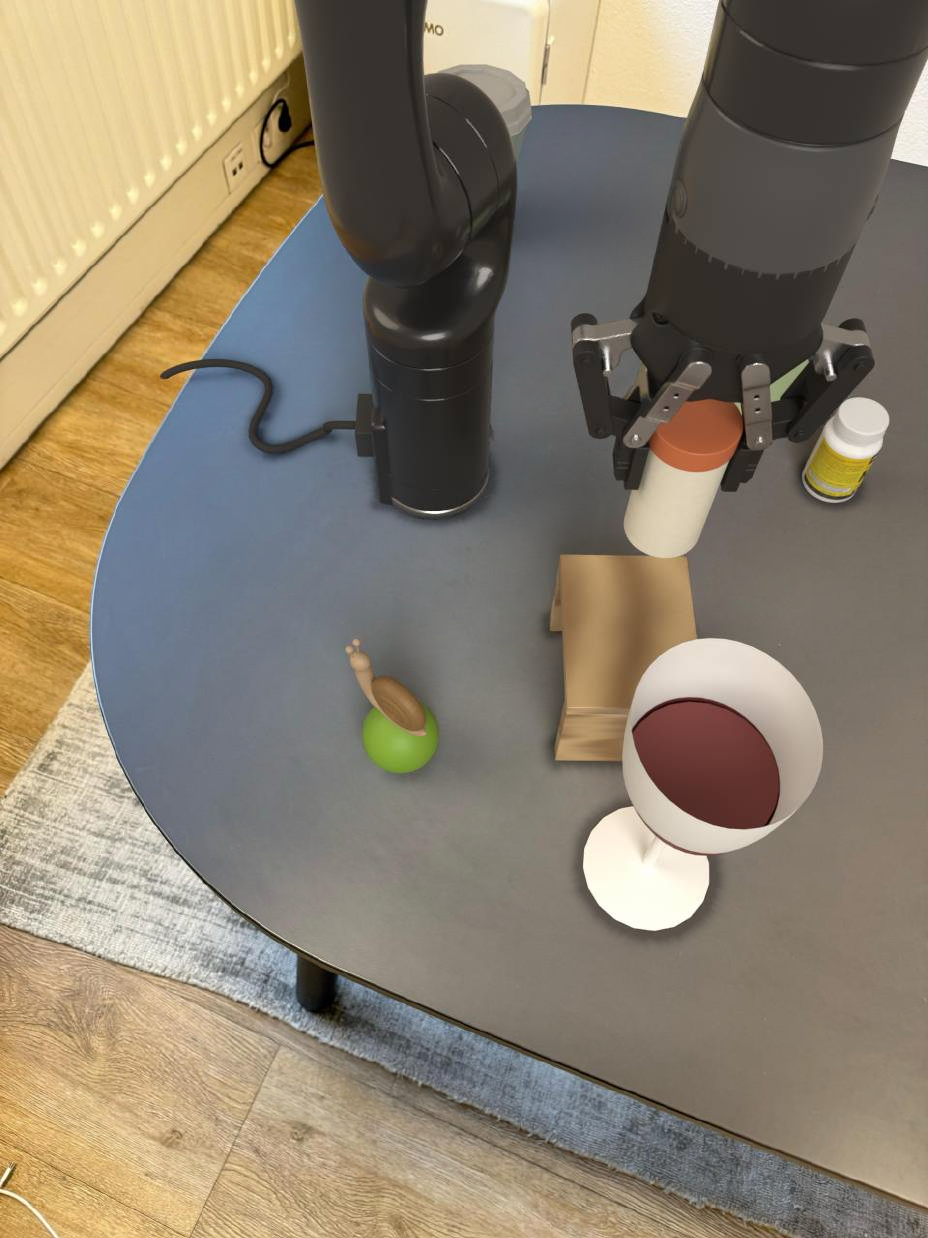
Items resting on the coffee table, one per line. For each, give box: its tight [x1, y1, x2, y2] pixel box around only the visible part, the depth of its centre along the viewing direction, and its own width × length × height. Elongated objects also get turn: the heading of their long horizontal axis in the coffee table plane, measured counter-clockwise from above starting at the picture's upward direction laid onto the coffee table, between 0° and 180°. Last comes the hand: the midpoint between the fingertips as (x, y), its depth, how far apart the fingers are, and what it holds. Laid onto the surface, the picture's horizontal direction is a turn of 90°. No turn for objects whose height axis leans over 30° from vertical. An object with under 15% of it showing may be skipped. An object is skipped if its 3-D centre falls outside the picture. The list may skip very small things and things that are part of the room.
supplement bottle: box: [801, 396, 890, 504], centre depth 80 cm, size 5×5×8 cm
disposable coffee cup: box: [436, 63, 533, 165], centre depth 94 cm, size 11×11×15 cm
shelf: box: [549, 554, 698, 762], centre depth 69 cm, size 9×12×9 cm
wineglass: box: [582, 637, 824, 932], centre depth 57 cm, size 9×10×23 cm
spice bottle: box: [623, 399, 743, 558], centre depth 52 cm, size 5×5×9 cm
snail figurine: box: [344, 637, 440, 774], centre depth 66 cm, size 5×6×12 cm
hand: (677, 477), depth 52 cm, fingers closed on spice bottle, 4 cm apart
